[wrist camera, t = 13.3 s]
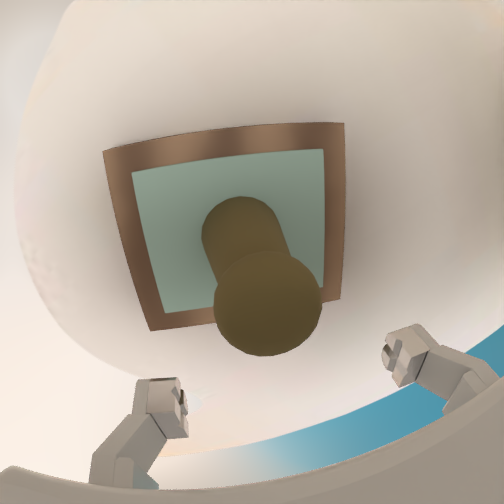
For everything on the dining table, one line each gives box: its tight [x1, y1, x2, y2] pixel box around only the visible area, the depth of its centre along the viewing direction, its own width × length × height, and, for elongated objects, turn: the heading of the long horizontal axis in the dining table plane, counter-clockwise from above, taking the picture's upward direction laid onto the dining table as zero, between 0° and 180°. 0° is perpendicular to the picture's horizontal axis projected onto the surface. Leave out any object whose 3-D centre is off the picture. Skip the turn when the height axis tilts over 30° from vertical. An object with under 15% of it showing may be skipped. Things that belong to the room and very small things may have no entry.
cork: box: [201, 196, 322, 356], centre depth 17 cm, size 6×6×11 cm
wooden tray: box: [103, 122, 345, 331], centre depth 24 cm, size 18×16×3 cm
